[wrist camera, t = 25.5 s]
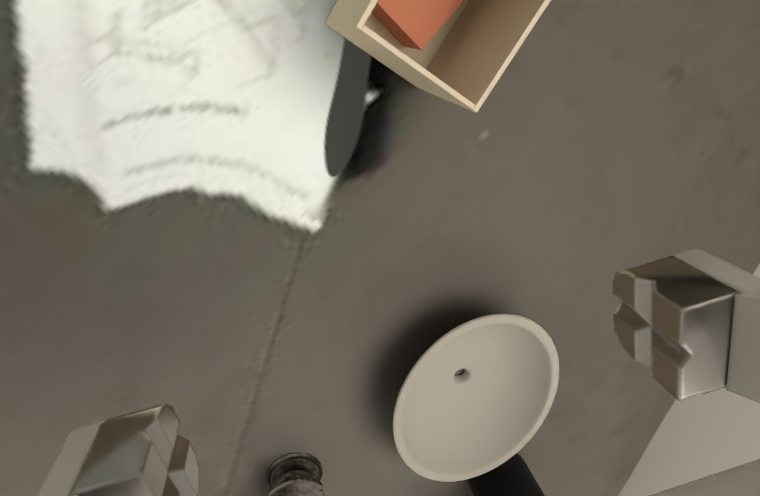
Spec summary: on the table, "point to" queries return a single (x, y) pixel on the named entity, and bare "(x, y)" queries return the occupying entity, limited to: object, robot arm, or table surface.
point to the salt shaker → (296, 476)
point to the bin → (446, 45)
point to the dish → (475, 397)
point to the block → (414, 19)
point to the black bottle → (506, 480)
